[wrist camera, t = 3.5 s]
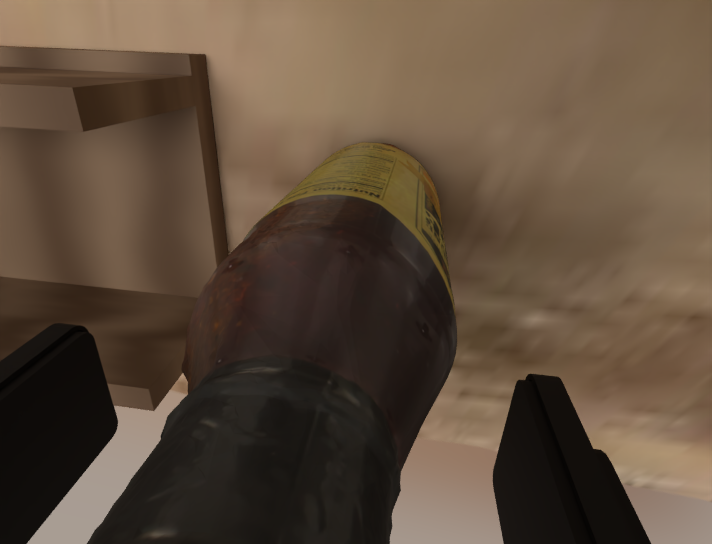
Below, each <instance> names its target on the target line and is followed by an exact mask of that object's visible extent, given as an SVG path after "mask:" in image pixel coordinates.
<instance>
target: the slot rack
mask: <svg viewBox="0 0 712 544" xmlns="http://www.w3.org/2000/svg"><path fill="white" fill-rule="evenodd" d="M227 257H228V248H227V239H226V231H225V222H224V213H223V205H222V196H221V188H220V179H219V170H218V162H217V153H216V144H215V136H214V127H213V118H212V110H211V101H210V93H209V84H208V75H207V67H206V58H205V54H182V53H158V52H134V51H110V50H86V49H62V48H39V47H15V46H0V361H1V360H3V359H4V358H5V357H7V356H8V355H10V354H11V353H12V352H14V351H15V350H17V349H18V348H19V347H21V346H22V345H23V344H25V343H26V342H28V341H29V340H30V339H32V338H33V337H35V336H36V335H37V334H39V333H40V332H42V331H43V330H44V329H46V328H47V327H49V326H50V325H52V324H54V323H64V324H73V325H81V326H84V327H86V328H87V329H88V331H89V333H91V334H92V335H93V337H94V339H95V342H96V346H97V349H98V353H99V356H100V360H101V363H102V367H103V370H104V374H105V377H106V381H107V384H108V388H109V391H110V395H111V398H112V402H113V405H115V406H122V407H129V408H137V409H144V410H151V411H154V410H155V409H156V408H157V406H158V405H159V404H160V402H161V401H162V400H163V398H164V397H165V396H166V394H167V393H168V392H169V390H170V389H171V388H172V386H173V385H174V384H175V382H176V381H177V380H178V378H179V377H180V376H181V374H182V373H183V372H182V369H181V368H182V363H183V361H184V356H185V348H186V339H187V327H188V325H189V323H190V321H191V317H192V313H193V311H194V307H195V304H196V302H197V299H198V297H199V296H200V294H201V292H202V290H203V286H204V285H205V284H206V283H207V282H208V281H209V279H210V277H211V276H212V274H213V273H214V271H215V270H216V268H217V267H218V266H219V265H220V264H221V262H222V261H223V260H225V259H226V258H227Z"/></svg>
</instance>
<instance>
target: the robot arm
mask: <svg viewBox="0 0 712 544" xmlns="http://www.w3.org/2000/svg"><path fill="white" fill-rule="evenodd" d="M117 424H118V420H117V416H116V412H115V409H114V405H113V402H112V398H111V395H110V391H109V388H108V384H107V381H106V377H105V374H104V370H103V367H102V363H101V360H100V356H99V353H98V349H97V346H96V342H95V339H94V337H93V335H92V334H91V333H89V331H88V329H87V328H86V327H84V326H81V325H73V324H64V323H54V324H52V325H50V326H49V327H47V328H46V329H44V330H43V331H42V332H40V333H39V334H37V335H36V336H35V337H33V338H32V339H30V340H29V341H28V342H26V343H25V344H23V345H22V346H21V347H19V348H18V349H17V350H15V351H14V352H12V353H11V354H10V355H8V356H7V357H5V358H4V359H3V360H1V361H0V544H27V542H28V541H29V540H30V539H31V537H32V536H33V535H34V534H35V532H36V531H37V530H38V529H39V528H40V526H41V525H42V524H43V522H44V521H45V520H46V519H47V518H48V516H49V515H50V514H51V513H52V511H53V510H54V509H55V508H56V507H57V505H58V504H59V503H60V502H61V500H62V499H63V497H65V495H66V494H67V493H68V492H69V490H70V489H71V488H72V487H73V486H74V484H75V483H76V482H77V481H78V479H79V478H80V477H81V476H82V474H83V473H84V472H85V471H86V469H87V468H88V467H89V466H90V465H91V463H92V462H93V461H94V459H95V458H96V457H97V456H98V455H99V453H100V452H101V451H102V450H103V448H104V447H105V446H106V445H107V444H108V442H109V441H110V440H111V439H112V437H113V436H114V434H115V432H116V430H117V426H118V425H117ZM493 487H494V493H495V499H496V504H497V509H498V515H499V520H500V526H501V531H502V536H503V541H504V544H651V542H650V540H649V538H648V536H647V534H646V532H645V530H644V529H643V526H642V524H641V522H640V520H639V518H638V516H637V514H636V512H635V510H634V508H633V506H632V504H631V502H630V500H629V498H628V496H627V494H626V492H625V490H624V487H623V485H622V483H621V481H620V479H619V477H618V475H617V473H616V471H615V469H614V467H613V465H612V463H611V461H610V460H609V458H608V457H607V455H606V454H605V453H604V452H603V451H602V450H598V449H593V447H592V445H591V443H590V441H589V438H588V436H587V434H586V432H585V430H584V428H583V426H582V423H581V421H580V419H579V417H578V415H577V413H576V410H575V408H574V406H573V404H572V402H571V400H570V397H569V395H568V393H567V391H566V389H565V387H564V384H563V382H562V381H561V379H560V378H559V377H555V376H546V375H537V374H528V376H527V377H526V380H518V381H517V383H516V386H515V390H514V393H513V397H512V401H511V405H510V409H509V412H508V416H507V420H506V424H505V427H504V431H503V435H502V439H501V443H500V446H499V450H498V454H497V458H496V462H495V466H494V470H493Z"/></svg>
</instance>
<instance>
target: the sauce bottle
mask: <svg viewBox="0 0 712 544" xmlns="http://www.w3.org/2000/svg"><path fill="white" fill-rule="evenodd" d="M456 347H457V326H456V317H455V306H454V299H453V294H452V290H451V283H450V276H449V268H448V260H447V253H446V248H445V242H444V233H443V227H442V220H441V213H440V206H439V200H438V195H437V192H436V189H435V186H434V184H433V182H432V180H431V178H430V176H429V175H428V173H427V172H426V170H425V169H424V168H423V166H422V165H421V164H420V163H419V162H418V161H417V160H415V159H414V158H413V157H412V156H410V155H409V154H407V153H405V152H404V151H402V150H400V149H399V148H397V147H395V146H393V145H391V144H384V143H383V144H380V143H358V144H355V145H351V146H348V147H346V148H343V149H341V150H339V151H337V152H336V153H334V154H333V155H331V156H330V157H329V158H327V159H326V160H325V161H324V162H323V163H322V164H321V165H320V166H319V167H317V168H316V169H315V170H314V171H313V172H312V173H311V174H310V175H309V176H308V177H306V178H305V179H304V180H303V181H302V182H301V183H300V184H299V185H298V186H297V187H296V188H295V189H293V190H292V191H291V192H290V193H289V194H288V195H287V196H286V197H285V198H284V199H282V200H281V201H280V202H279V203H278V204H277V205H276V206H275V207H274V208H273V209H271V210H270V211H269V212H268V213H267V214H266V215H265V216H264V217H263V218H262V219H261V220H260V221H259V222H258V223H257V224H256V225H255V226H254V227H253V228H252V229H251V230H250V232H249V233H248V234H247V235H246V237H245V239H244V241H243V242H242V243H241V244H239V245H238V246H237V247H236V248H235V249H234V250H233V251H232V253H231V254H230V255H229V256H228V257H227V258H226V259H225V260H223V261H222V262H221V264H220V265H219V266H218V267H217V268H216V270H215V271H214V273H213V274H212V276H211V277H210V279H209V281H208V282H207V283H206V284H205V285H204V286H203V290H202V292H201V294H200V296H199V297H198V299H197V302H196V304H195V307H194V311H193V313H192V317H191V321H190V323H189V325H188V327H187V339H186V348H185V356H184V361H183V363H182V368H181V369H182V372H183V373H184V375H185V377H186V379H187V381H188V395H187V396H186V397H185V398H184V399H183V400H182V401H181V402H180V404H179V405H178V406H177V407H176V408H175V409H174V410H173V411H172V412H171V413H170V414H169V415H168V417H167V420H166V424H165V426H164V429H163V432H162V434H161V440H160V442H159V443H158V444H157V446H156V448H155V449H154V450H153V451H152V453H151V454H150V455H149V457H148V458H147V459H146V461H145V462H144V463H143V465H142V466H141V467H140V469H139V470H138V471H137V472H136V474H135V475H134V477H133V478H132V479H131V481H130V482H129V484H128V486H127V487H126V489H125V491H124V492H123V493H122V495H121V496H120V497H119V498H118V500H117V501H116V502H115V503H114V505H113V506H112V508H111V509H110V511H109V513H108V514H107V516H106V517H105V519H104V521H103V522H102V524H101V525H100V526H99V527H98V528H97V529H96V530H95V531H94V533H93V535H92V536H91V538H90V540H89V541H88V543H87V544H390V541H389V540H390V534H391V529H392V517H391V516H392V511H393V508H394V506H395V503H396V501H397V498H398V496H399V493H400V491H401V489H400V475H401V470H402V468H403V466H404V463H405V461H406V459H407V457H408V454H409V452H410V450H411V448H412V446H413V443H414V441H415V439H416V437H417V435H418V433H419V430H420V428H421V426H422V424H423V422H424V420H425V418H426V416H427V415H428V413H429V411H430V409H431V407H432V406H433V404H434V402H435V400H436V398H437V396H438V395H439V393H440V391H441V389H442V387H443V385H444V383H445V382H446V380H447V378H448V375H449V373H450V370H451V368H452V365H453V362H454V358H455V354H456Z"/></svg>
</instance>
